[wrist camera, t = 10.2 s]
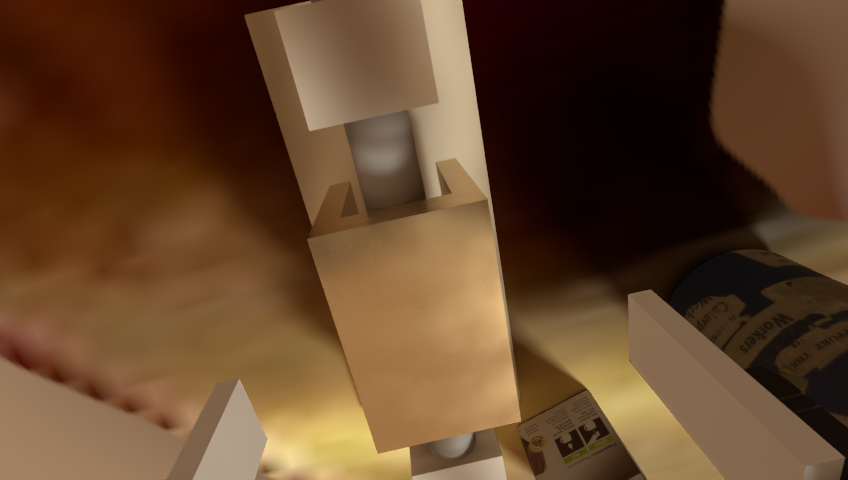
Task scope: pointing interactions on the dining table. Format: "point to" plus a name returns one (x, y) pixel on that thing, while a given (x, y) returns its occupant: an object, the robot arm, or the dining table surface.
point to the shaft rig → (381, 131)
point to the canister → (774, 320)
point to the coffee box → (577, 444)
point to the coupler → (419, 310)
